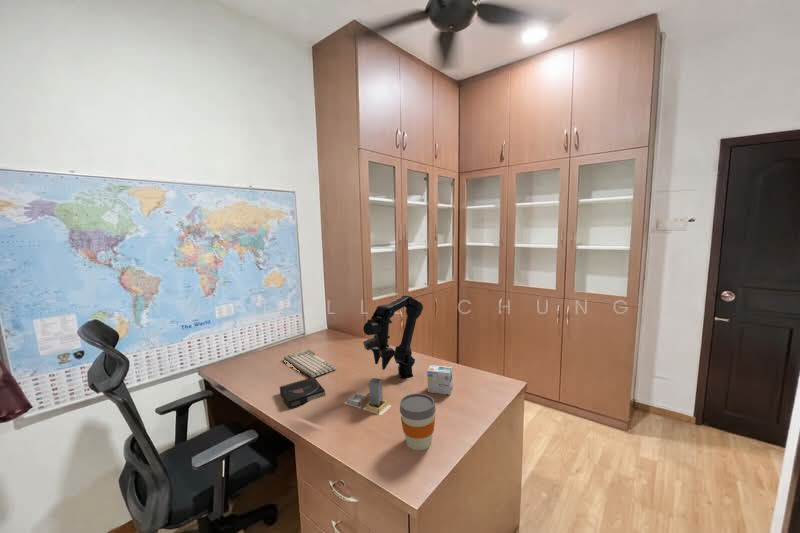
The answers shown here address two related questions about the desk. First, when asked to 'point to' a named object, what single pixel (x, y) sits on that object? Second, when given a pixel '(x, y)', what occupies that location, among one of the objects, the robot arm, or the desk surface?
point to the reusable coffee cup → (418, 420)
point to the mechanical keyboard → (309, 364)
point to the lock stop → (376, 392)
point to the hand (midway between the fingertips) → (379, 366)
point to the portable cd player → (301, 392)
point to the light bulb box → (440, 379)
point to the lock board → (366, 403)
